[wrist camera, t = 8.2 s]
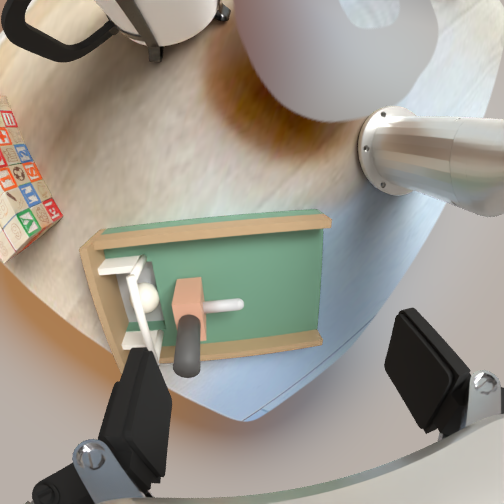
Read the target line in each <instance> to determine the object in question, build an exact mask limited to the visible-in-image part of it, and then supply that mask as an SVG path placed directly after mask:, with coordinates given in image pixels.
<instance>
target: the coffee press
mask: <svg viewBox="0 0 504 504" xmlns="http://www.w3.org/2000/svg"><path fill="white" fill-rule="evenodd" d="M94 1H95V2H96V3H97V4H98V5H99V6H100V7H101V8H102V10H103V11H104V12H105V13H106V14H107V17H108V19H109V21H108V22H106V23H105V24H104V26H103V27H101V28H100V29H99V30H97V31H96V32H95V33H94V34H92V35H91V36H90V37H88V38H87V39H85V40H84V41H82V42H80V43H77V44H74V45H65V44H63V43H61V42H59V41H58V40H56V39H54V38H52V37H50V36H49V35H47V34H45V33H43V32H41V31H40V30H38V29H36V28H34V27H32V26H30V25H29V24H27V23H26V22H25V12H26V9H27V7H28V5H29V3H30V2H31V0H7V2H6V4H5V6H4V8H3V11H2V16H1V24H2V28H3V30H4V32H5V34H6V36H7V38H8V39H9V40H10V41H11V42H12V43H13V44H15V45H17V46H19V47H21V48H23V49H25V50H28V51H30V52H32V53H35V54H37V55H40V56H42V57H45V58H47V59H50V60H53V61H56V62H70V61H73V60H76V59H79V58H81V57H83V56H85V55H86V54H88V53H89V52H91V51H92V50H94V49H95V48H97V47H98V46H99V45H101V44H102V43H103V42H105V41H106V40H107V39H108V38H110V37H111V36H112V35H115V34H117V33H118V32H120V33H121V34H123V35H124V36H126V37H128V38H129V39H131V40H132V41H134V42H136V43H139V44H142V45H147V47H148V51H149V62H161V61H162V58H163V49H164V46H167V45H173V44H176V43H180V42H182V41H185V40H187V39H189V38H191V37H193V36H195V35H196V34H198V33H199V32H201V31H202V30H203V29H204V28H205V27H206V26H207V25H208V24H209V23H210V22H211V21H212V19H213V18H215V19H217V20H220V21H228V20H229V17H230V13H231V10H230V9H229V8H227V7H226V6H225V5H223V3H222V0H94ZM218 5H219V10H217V9H218ZM112 21H113V22H114V23H115V24H116V25H115V24H114V23H113V22H112ZM117 27H118V28H119V29H118V28H117Z"/></svg>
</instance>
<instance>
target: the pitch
mask: <svg viewBox="0 0 504 504" xmlns="http://www.w3.org/2000/svg"><path fill="white" fill-rule="evenodd" d="M331 223H332V219H330V218H329V217H327V216H326V215H325V214H323V213H322V212H320V211H319V210H317V209H310V210H294V211H280V212H266V213H253V214H241V215H229V216H218V217H207V218H197V219H187V220H177V221H168V222H159V223H150V224H141V225H133V226H125V227H117V228H109V229H102V230H99V231H98V232H97V233H96V234H95V235H94V236H92V237H91V238H90V239H89V240H88V241H87V242H86V243H85V244H84V245H83V246H82V247H81V248H80V249H79V252H80V256H81V260H82V263H83V267H84V271H85V275H86V278H87V282H88V285H89V288H90V292H91V295H92V298H93V301H94V304H95V307H96V310H97V313H98V316H99V319H100V322H101V325H102V328H103V330H104V333H105V336H106V338H107V341H108V344H109V346H110V349H111V351H112V354H113V356H114V358H115V361H116V363H117V365H118V368H119V370H120V372H121V374H122V373H123V370H124V367H125V364H126V361H127V358H128V355H129V352H130V349H131V348H136V347H147V349H148V351H152V352H153V353H154V356H155V359H156V361H157V364H158V366H159V365H160V364H159V363H174V354H175V346H176V337H177V327H176V323H175V318H174V314H173V309H172V301H173V296H174V291H175V286H176V281H177V279H184V278H195V277H201V279H202V286H203V293H204V300H205V301H215V300H225V299H235V298H240V299H242V300H243V302H244V307H243V308H242V309H241V310H237V311H227V312H217V313H206V341H200V361H206V360H217V359H228V358H237V357H246V356H254V355H262V354H269V353H276V352H283V351H289V350H296V349H302V348H308V347H313V346H319V345H322V342H323V339H322V337H321V335H320V333H319V332H318V330H317V326H318V314H319V301H320V287H321V271H322V251H323V228H331ZM142 282H147V283H150V284H152V285H154V286H155V287H156V288H157V290H158V294H159V299H160V301H159V304H158V306H157V308H156V309H155V310H154V311H152V312H150V313H144V309H143V305H142V301H141V297H140V293H139V289H138V285H137V284H138V283H142ZM130 295H131V299H132V303H133V307H134V308H133V307H132V305H131V303H130Z"/></svg>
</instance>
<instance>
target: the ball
mask: <svg viewBox="0 0 504 504" xmlns="http://www.w3.org/2000/svg"><path fill="white" fill-rule="evenodd" d="M137 285H138V289H139V293H140V297H141V301H142V305H143V309H144V313H150V312H152V311H154V310H155V309H156V308H157V306H158V304H159V301H160V299H159V294H158V290H157V288H156V287H155V286H154V285H152V284H150V283H147V282H142V283H138V284H137ZM130 303H131V305H132V307H133V303H132V299H131V295H130ZM133 308H134V307H133Z"/></svg>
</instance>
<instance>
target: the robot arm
mask: <svg viewBox="0 0 504 504" xmlns="http://www.w3.org/2000/svg"><path fill="white" fill-rule="evenodd" d="M364 148H365V149H364ZM358 154H359V160H360V164H361V167H362V170H363V172H364V174H365V176H366V177H367V179H368V180H369V181H370V183H371V184H372V185H373V186H375V187H376V188H377V189H379V190H380V191H382V192H384V193H387V194H390V195H394V196H401V195H405V194H408V193H410V192H412V191H416V192H419V193H422V194H425V195H427V196H430V197H433V198H436V199H439V200H441V201H444V202H447V203H449V204H452V205H454V206H457V207H459V208H462V209H465V210H467V211H470V212H473V213H475V214H477V215H480V216H485V217H495V216H499V215H502V214H503V213H504V119H490V118H475V117H474V118H473V117H450V116H416V115H415V114H414V113H413V112H411V111H410V110H408V109H406V108H403V107H400V106H387V107H383V108H380V109H378V110H376V111H375V112H373V113H372V114H371V115H370V116H369V117H368V118H367V120H366V121H365V123H364V124H363V126H362V129H361V132H360V135H359V140H358ZM384 366H385V370H386V372H387V374H388V376H389V377H390V379H391V380H392V382H393V384H394V385H395V387H396V389H397V390H398V392H399V394H400V395H401V397H402V399H403V400H404V402H405V404H406V406H407V407H408V409H409V410H410V412H411V414H412V416H413V417H414V419H415V421H416V423H417V424H418V426H419V427H420V428H421V429H424V431H425V433H426V434H427V433H429V432H431V431H433V430H436V429H437V428H438V430H439V432H440V434H439V438H438V442H436V443H434V444H432V445H430V446H427V447H425V448H423V449H421V450H419V451H416V452H414V453H412V454H410V455H407V456H405V457H402V458H400V459H398V460H395V461H392V462H390V463H387V464H384V465H382V466H379V467H376V468H373V469H370V470H367V471H364V472H361V473H358V474H354V475H351V476H348V477H344V478H340V479H337V480H333V481H330V482H325V483H321V484H317V485H312V486H307V487H302V488H297V489H292V490H287V491H280V492H273V493H267V494H258V495H249V496H237V497H221V498H220V497H219V498H155V497H154V496H153V495H152V494H151V492H150V491H149V489H150V488H151V483H160V479H161V477H164V476H165V470H166V458H167V447H168V437H169V427H170V418H171V409H172V399H171V396H170V393H169V391H168V388H167V386H166V384H165V381H164V379H163V376H162V374H161V371H160V369H159V366H158V364H157V361H156V359H155V356H154V353H153V352H152V351H148V349H147V347H136V348H131V349H130V352H129V355H128V358H127V361H126V364H125V367H124V370H123V373H122V376H121V379H120V382H116V383H115V384H114V387H113V390H112V393H111V396H110V399H109V402H108V405H107V409H106V412H105V416H104V419H103V422H102V426H101V429H100V433H99V436H98V440H96V439H89V440H85V441H83V442H81V443H80V444H78V446H77V447H76V448H75V449H74V452H73V458H72V460H73V463H72V464H70V465H68V466H66V467H65V468H63V469H61V470H59V471H58V472H56V473H54V474H52V475H51V476H49V477H47V478H45V479H43V480H42V481H40V482H39V483H37V484H36V485H35V487H34V489H33V492H32V499H33V501H32V502H31V503H30V502H29V501H27V502H26V503H25V504H504V388H502V387H501V385H500V381H499V379H498V378H497V377H496V376H495V375H494V374H493V373H491V372H489V371H486V370H480V371H477V372H475V373H474V374H473V375H472V376H471V375H470V373H469V372H470V369H469V368H468V367H467V366H466V364H465V363H464V362H463V361H462V360H461V359H460V358H459V356H458V355H457V354H456V353H455V352H454V351H453V349H452V348H451V347H450V346H449V345H448V344H447V343H446V342H445V340H444V339H443V338H442V337H441V336H440V335H439V334H438V333H437V332H436V331H435V329H434V328H433V327H432V326H431V325H430V324H429V323H428V322H427V321H426V320H425V319H424V318H423V317H422V316H421V315H420V313H419V312H417V310H416V309H414V308H409V309H405V310H401V311H400V312H399V314H398V315H397V316H396V318H395V322H394V327H393V331H392V336H391V340H390V344H389V348H388V352H387V356H386V359H385V364H384Z"/></svg>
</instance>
